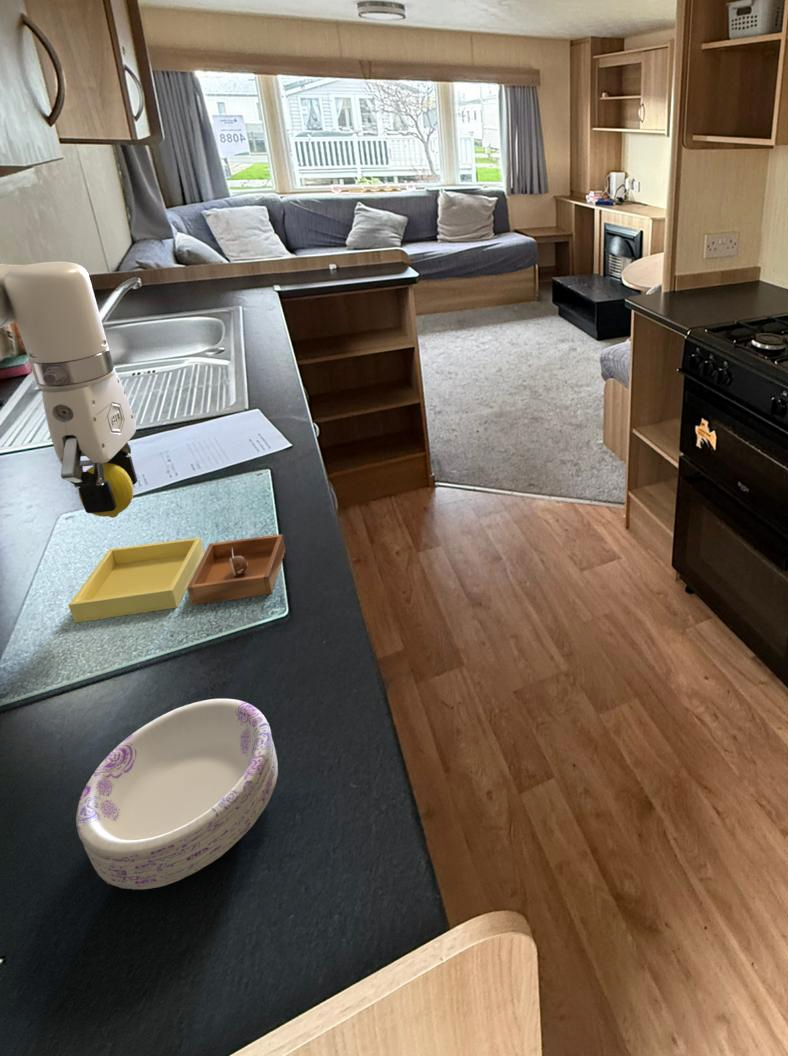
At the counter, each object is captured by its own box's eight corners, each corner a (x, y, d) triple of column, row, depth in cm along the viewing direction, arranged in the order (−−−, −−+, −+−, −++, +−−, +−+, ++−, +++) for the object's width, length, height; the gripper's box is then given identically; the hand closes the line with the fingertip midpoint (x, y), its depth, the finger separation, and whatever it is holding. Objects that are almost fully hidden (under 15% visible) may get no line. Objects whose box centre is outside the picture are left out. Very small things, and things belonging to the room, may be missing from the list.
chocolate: (250, 576, 94) (244, 554, 93) (232, 581, 93) (227, 559, 92) (248, 565, 97) (243, 542, 95) (232, 570, 96) (226, 547, 94)
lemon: (123, 501, 88) (107, 449, 85) (149, 511, 86) (134, 458, 83) (78, 522, 84) (60, 468, 81) (104, 533, 81) (87, 478, 79)
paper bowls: (99, 803, 64) (76, 745, 61) (268, 726, 72) (255, 671, 69) (97, 957, 52) (69, 894, 49) (299, 844, 60) (284, 784, 57)
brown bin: (191, 605, 89) (186, 588, 88) (213, 559, 99) (209, 543, 98) (271, 593, 92) (268, 576, 91) (285, 550, 101) (282, 533, 100)
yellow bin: (74, 623, 86) (68, 605, 85) (114, 565, 97) (109, 548, 96) (177, 607, 89) (172, 590, 88) (204, 553, 100) (200, 537, 99)
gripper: (74, 392, 70) (117, 532, 77) (139, 342, 86) (169, 462, 93) (-7, 398, 69) (43, 540, 75) (73, 346, 84) (110, 467, 91)
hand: (112, 496), depth 84 cm, fingers closed on lemon, 5 cm apart
